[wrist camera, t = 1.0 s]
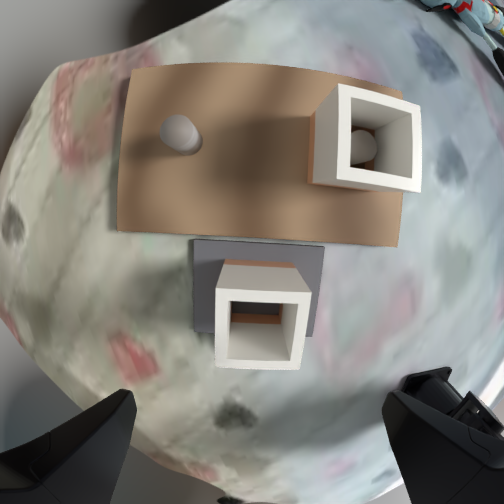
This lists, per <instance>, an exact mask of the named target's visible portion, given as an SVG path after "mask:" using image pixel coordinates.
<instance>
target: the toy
mask: <svg viewBox="0 0 504 504" xmlns="http://www.w3.org/2000/svg"><path fill="white" fill-rule="evenodd" d="M420 1H421V2H422V3H423V4H425V5H427V6H429V7H431V9H428V10H426V12H435V11H442V10H448V9H451V8H452V9H453V10H454V11H455V12H456V13H457V14H458V15H459V16H460V18H461V20H462V21H463V22H464V23H465V24H466V25H467V27H468V28H469V29H470V30H471V31H472V32H474V33H476V34H478V35H480V36H481V37H483V38H484V40H485V41H486V42H487V44H488V45H489V46H490V48H491V49H492V52H493V57H494V60H495V62H496V64H497V65H498V67H499V69H500V71H501V72H502V74H503V76H504V50H502V49H500V48H498V47H497V46H496V45H495V43H494V42H493V41H492V39H491V38H490V37H489V35H488V34H487V33H486V32H485V29H484V27H483V25H484V26H485V28H488V29H490V30H492V31H497V32H498V33H500V34H501V35H502V36H503V37H504V8H503V7H500V6H494V5H493V4H492V3H491V2H490V1H489V0H488V1H485V0H420Z"/></svg>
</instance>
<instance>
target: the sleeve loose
mask: <svg viewBox="0 0 504 504" xmlns="http://www.w3.org/2000/svg"><path fill="white" fill-rule="evenodd" d="M311 294H312V292H311V291H310V289H309V287H308V286H307V284H306V283H305V281H304V280H303V278H302V277H301V275H300V274H299V272H298V270H297V269H296V267H295V266H294V264H293V263H292V262H273V261H255V260H237V259H225V261H224V264H223V267H222V270H221V273H220V276H219V279H218V282H217V286H216V297H215V367H222V368H238V369H264V370H299V369H300V364H301V358H302V353H303V347H304V341H305V335H306V329H307V322H308V316H309V309H310V302H311ZM232 301H244V302H264V303H280V306H279V315H262V314H241V313H232Z"/></svg>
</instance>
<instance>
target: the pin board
mask: <svg viewBox="0 0 504 504" xmlns="http://www.w3.org/2000/svg"><path fill="white" fill-rule="evenodd" d="M338 83H339V84H344V85H349V86H353V87H358V88H362V89H366V90H370V91H373V92H377V93H381V94H384V95H388V96H391V97H394V98H397V99H400V100H403V97H402V92H401V91H398V90H395V89H392V88H388V87H385V86H382V85H378V84H375V83H371V82H367V81H363V80H359V79H355V78H351V77H347V76H342V75H337V74H332V73H327V72H322V71H316V70H310V69H303V68H296V67H288V66H278V65H267V64H253V63H188V64H173V65H163V66H154V67H146V68H139V69H132V73H131V78H130V83H129V88H128V94H127V100H126V106H125V113H124V120H123V127H122V136H121V145H120V156H119V169H118V188H117V231H132V232H156V233H178V234H199V235H218V236H237V237H255V238H271V239H288V240H303V241H318V242H333V243H347V244H361V245H374V246H387V247H397V246H398V238H399V230H400V221H401V211H402V199H403V192H370V191H363V190H356V189H348V188H341V187H333V186H324V185H315V184H307V176H308V158H309V136H310V116H311V115H312V114H313V112H314V111H315V110H316V109H317V108H318V106H319V105H320V104H321V103H322V102H323V100H324V99H325V98H326V97H327V96H328V95H329V93H330V92H331V91H332V90H333V89H334V88H335V86H336V85H337V84H338ZM376 153H377V143H376V140H375V138H374V137H373V136H372V135H371V134H370V133H369V132H367V131H364V130H357V131H354V132H352V131H351V153H350V167H352V168H358V169H364V170H365V162H366V161H370V160H372V159H373V158H374V157H375V155H376Z"/></svg>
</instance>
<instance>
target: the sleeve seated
mask: <svg viewBox="0 0 504 504" xmlns="http://www.w3.org/2000/svg"><path fill="white" fill-rule="evenodd" d="M357 130H364V131H367V132H369V133H370V134H371V135H372V136H373V137H374V138H375V140H376V143H377V153H376V155H375V157H374V158H373V159H372V160H370V161H366V162H365V170H364V169H358V168H352V167H350V153H351V131H352V132H354V131H357ZM421 175H422V132H421V113H420V106H418V105H415V104H412V103H410V102H407V101H404V100H400V99H397V98H394V97H391V96H388V95H384V94H381V93H377V92H373V91H370V90H366V89H362V88H358V87H353V86H349V85H344V84H339V83H338V84H337V85H336V86H335V88H334V89H333V90H332V91H331V92H330V93H329V95H328V96H327V97H326V98H325V99H324V100H323V102H322V103H321V104H320V105H319V106H318V108H317V109H316V110H315V111H314V112H313V114H312V115H311V116H310V136H309V158H308V176H307V184H315V185H324V186H333V187H341V188H348V189H356V190H363V191H370V192H410V193H421Z"/></svg>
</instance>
